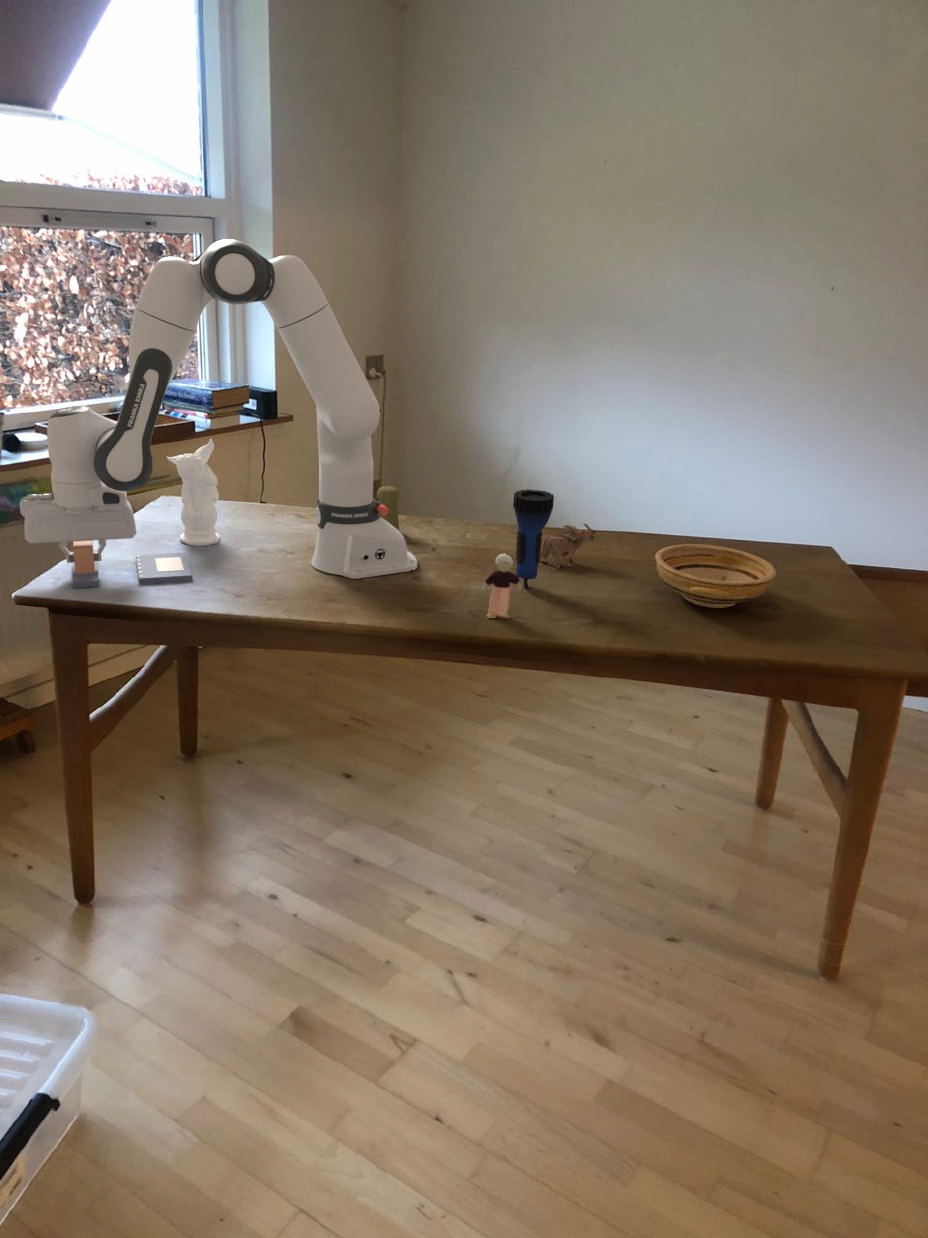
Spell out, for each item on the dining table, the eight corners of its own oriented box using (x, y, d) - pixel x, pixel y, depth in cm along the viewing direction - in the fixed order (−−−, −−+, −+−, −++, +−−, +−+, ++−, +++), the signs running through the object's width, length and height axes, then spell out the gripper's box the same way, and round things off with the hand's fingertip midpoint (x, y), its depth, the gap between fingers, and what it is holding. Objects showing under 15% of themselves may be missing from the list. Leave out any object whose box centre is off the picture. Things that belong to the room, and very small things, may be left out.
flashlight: (517, 597, 192) (525, 501, 184) (499, 583, 199) (507, 490, 191) (551, 593, 195) (561, 498, 188) (533, 579, 202) (541, 488, 194)
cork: (395, 537, 223) (397, 491, 219) (371, 534, 224) (372, 488, 220) (402, 530, 228) (404, 485, 224) (378, 527, 229) (379, 482, 225)
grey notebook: (185, 557, 202) (185, 551, 201) (192, 580, 190) (192, 574, 189) (135, 560, 198) (135, 554, 198) (139, 584, 186) (138, 578, 186)
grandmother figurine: (485, 622, 179) (490, 558, 174) (477, 614, 182) (482, 551, 177) (522, 618, 182) (528, 555, 177) (513, 610, 185) (519, 548, 180)
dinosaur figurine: (578, 556, 218) (582, 517, 215) (592, 565, 214) (597, 525, 210) (526, 562, 213) (530, 522, 209) (539, 570, 208) (543, 530, 204)
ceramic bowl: (768, 634, 182) (776, 595, 179) (641, 613, 188) (647, 575, 185) (769, 584, 208) (776, 550, 205) (657, 567, 214) (662, 533, 211)
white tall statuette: (199, 550, 207) (193, 450, 198) (154, 540, 211) (146, 442, 202) (234, 535, 217) (230, 440, 208) (191, 526, 221) (185, 431, 213)
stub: (97, 562, 196) (95, 533, 193) (98, 586, 184) (95, 555, 181) (73, 563, 194) (70, 534, 192) (73, 588, 182) (69, 557, 180)
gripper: (17, 499, 176) (25, 569, 181) (134, 495, 183) (139, 563, 188) (19, 490, 182) (27, 558, 187) (132, 486, 189) (137, 552, 194)
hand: (84, 561), depth 188 cm, fingers closed on stub, 3 cm apart
